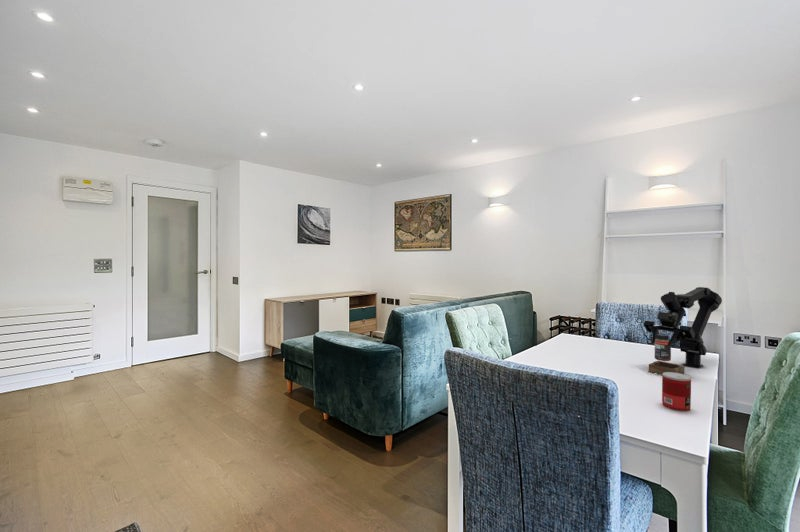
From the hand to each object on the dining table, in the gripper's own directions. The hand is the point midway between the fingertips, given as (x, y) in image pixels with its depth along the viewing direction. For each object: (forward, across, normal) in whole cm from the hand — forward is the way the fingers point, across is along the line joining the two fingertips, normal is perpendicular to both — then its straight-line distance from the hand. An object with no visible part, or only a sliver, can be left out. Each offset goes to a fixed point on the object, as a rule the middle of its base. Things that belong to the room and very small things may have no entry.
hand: (660, 343), depth 163 cm
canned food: (+34, +21, -14) cm, 42 cm away
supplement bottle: (+4, 0, +6) cm, 8 cm away
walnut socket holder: (+6, 0, +13) cm, 15 cm away
